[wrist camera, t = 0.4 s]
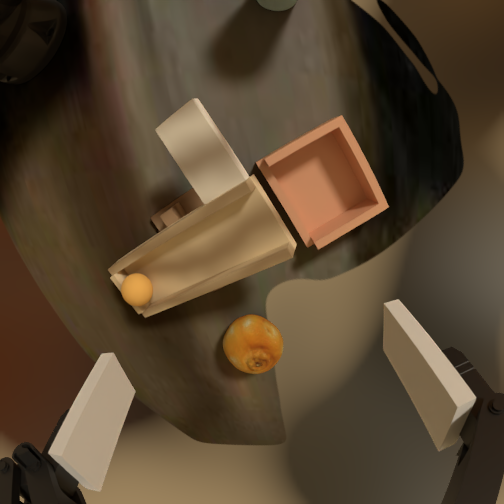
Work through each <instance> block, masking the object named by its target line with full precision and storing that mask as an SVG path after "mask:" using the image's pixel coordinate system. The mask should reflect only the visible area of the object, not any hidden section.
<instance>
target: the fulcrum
mask: <svg viewBox="0 0 504 504" xmlns="http://www.w3.org/2000/svg"><path fill="white" fill-rule="evenodd" d="M203 204H204V203H203V202H202V200H201V199H200V197H199V196H198V194H197V193H196V191H195V190H194V188H192V189H190V190H189V191H187V192H186V193H184V194H183V195H182V196H180V197H179V198H177V199H176V200H174V201H173V202H171V203H170V204H169V205H167V206H166V207H164V208H163V209H162V210H160V211H159V212H157V213H156V214H155V215H153V216H152V217H150V218H151V220H152V221H153V223H154V224H155V225H156V227H157V228H158V230H159V231H160V232H161V231H162V230H164V229H165V228H167V227H168V226H170V225H171V224H173V223H175V222H176V221H178V220H179V219H181V218H182V217H184V216H186V215H187V214H189V213H190V212H192V211H193V210H195V209H197V208H198V207H200V206H201V205H203ZM223 287H224V286H223ZM221 288H222V287H221ZM221 288H218V289H216V290H213V292H215V291H217V290H219V289H221Z"/></svg>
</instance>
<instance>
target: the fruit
mask: <svg viewBox="0 0 504 504" xmlns="http://www.w3.org/2000/svg"><path fill="white" fill-rule="evenodd" d="M223 349H224V352H225V354H226V356H227V358H228V360H229V361H230V362H231V363H232V364H233V365H234V366H235V367H236V368H237V369H238V370H240V371H243V372H246V373H251V374H260V373H263V372H266V371H268V370H270V369H271V368H272V367H274V366H275V365H276V363H277V362H278V360H279V359H280V357H281V355H282V351H283V339H282V336H281V334H280V332H279V330H278V328H277V327H276V326H275V325H273V324H272V323H271V322H270V321H268V320H266V319H265V318H263V317H261V316H258V315H252V314H250V315H245V316H242V317H240V318H238V319H236V320H235V321H234V322H233V323H232V324H231V325H230V326H229V328H228V329H227V331H226V333H225V336H224V339H223Z"/></svg>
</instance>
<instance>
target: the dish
mask: <svg viewBox="0 0 504 504" xmlns="http://www.w3.org/2000/svg"><path fill="white" fill-rule="evenodd" d="M256 164H257V165H258V167H259V169H260V170H261V172H262V173H263V175H264V177H265V178H266V180H267V181H268V183H269V185H270V186H271V188H272V189H273V191H274V193H275V194H276V196H277V198H278V199H279V201H280V202H281V204H282V206H283V207H284V209H285V211H286V212H287V214H288V216H289V217H290V219H291V221H292V222H293V224H294V226H295V227H296V229H297V231H298V233H299V234H300V236H301V238H302V239H303V241H304V243H305V244H306V246H307V248H308V247H310V246H311V245H313V244H315V245H316V247H317V248H318V250H319V249H320V248H322V247H324V246H325V245H327V244H329V243H330V242H332V241H334V240H335V239H337V238H339V237H340V236H342V235H344V234H345V233H347V232H349V231H350V230H352V229H354V228H355V227H357V226H359V225H360V224H362V223H364V222H365V221H367V220H369V219H370V218H372V217H374V216H375V215H377V214H378V213H380V212H382V211H383V210H385V209H387V208H388V207H389V206H388V204H387V202H386V200H385V197H384V195H383V193H382V191H381V189H380V187H379V184H378V182H377V180H376V178H375V176H374V174H373V172H372V170H371V168H370V166H369V164H368V162H367V160H366V158H365V156H364V154H363V152H362V151H361V149H360V147H359V145H358V143H357V141H356V139H355V138H354V136H353V134H352V132H351V130H350V129H349V127H348V125H347V123H346V122H345V120H344V118H343V116H342V115H341V116H338V117H335V118H332V119H330V120H328V121H326V122H325V123H323V124H321V125H319V126H317V127H315V128H314V129H312V130H310V131H308V132H306V133H305V134H303V135H301V136H299V137H298V138H296V139H294V140H292V141H291V142H289V143H287V144H285V145H284V146H282V147H280V148H278V149H277V150H275V151H273V152H272V153H270V154H268V155H267V156H265V157H263V158H262V159H260V160H258V161H257V162H256Z"/></svg>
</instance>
